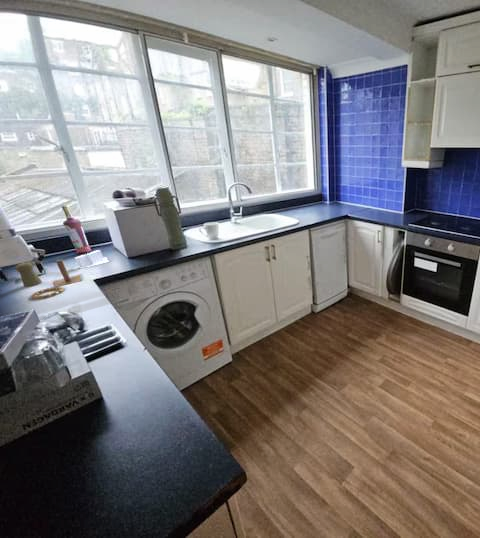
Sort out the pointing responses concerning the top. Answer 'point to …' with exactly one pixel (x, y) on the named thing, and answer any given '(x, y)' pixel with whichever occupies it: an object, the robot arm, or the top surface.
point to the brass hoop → (57, 289)
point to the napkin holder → (91, 259)
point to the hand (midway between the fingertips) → (24, 276)
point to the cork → (28, 274)
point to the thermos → (170, 218)
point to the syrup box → (35, 263)
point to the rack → (65, 276)
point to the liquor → (75, 232)
